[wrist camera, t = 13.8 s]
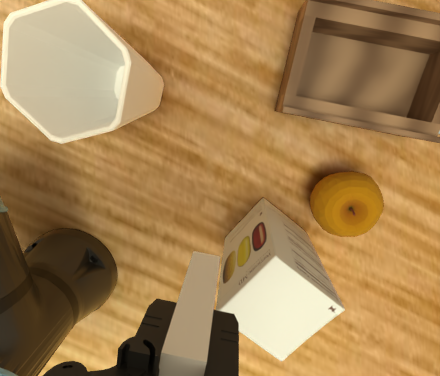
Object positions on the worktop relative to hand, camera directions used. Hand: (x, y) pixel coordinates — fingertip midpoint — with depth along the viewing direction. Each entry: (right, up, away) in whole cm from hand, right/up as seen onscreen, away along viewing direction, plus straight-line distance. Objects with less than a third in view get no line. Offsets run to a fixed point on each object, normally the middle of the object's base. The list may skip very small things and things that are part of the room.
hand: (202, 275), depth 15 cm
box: (+18, +19, +21) cm, 34 cm away
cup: (-10, +19, +23) cm, 31 cm away
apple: (+17, +4, +25) cm, 31 cm away
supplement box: (+8, -3, +28) cm, 29 cm away
